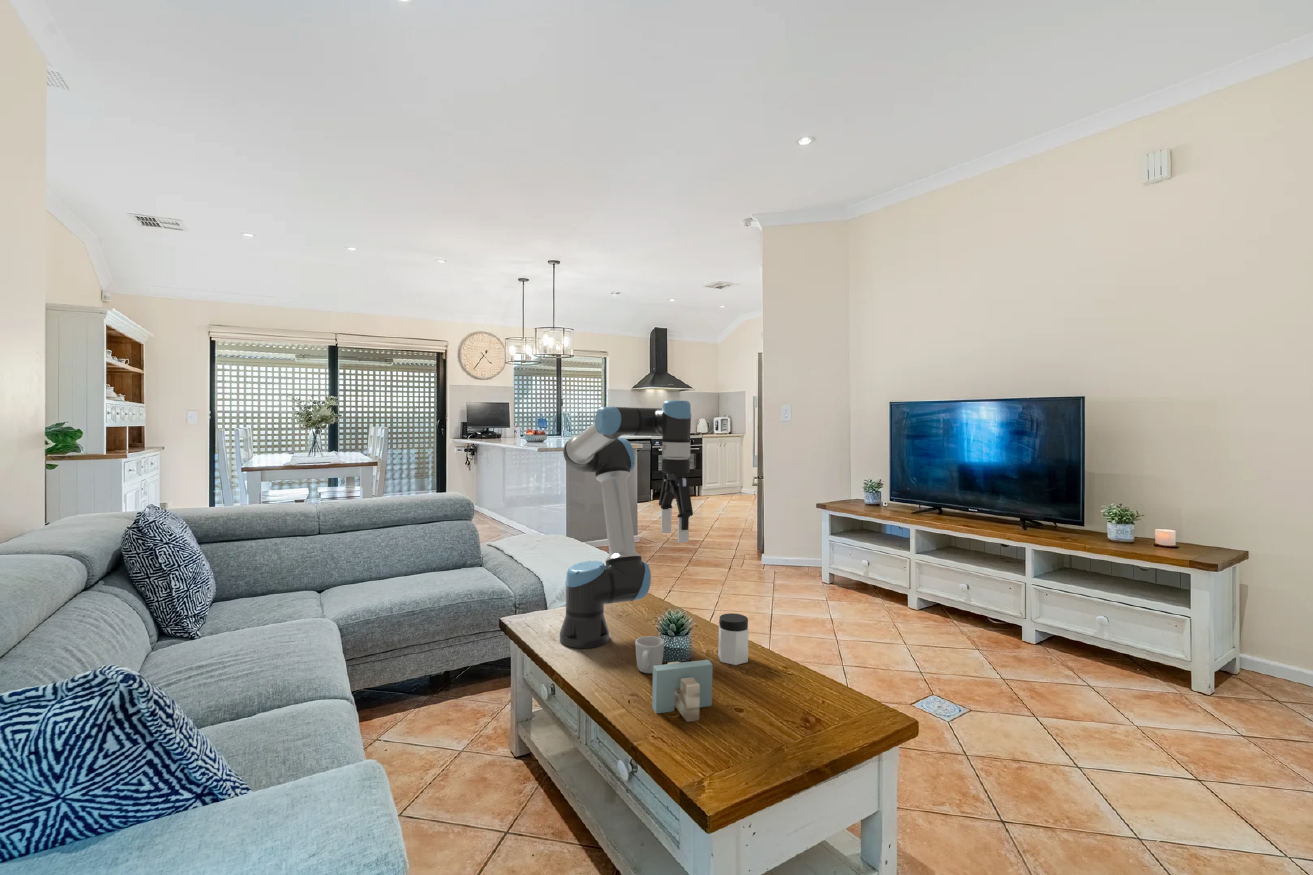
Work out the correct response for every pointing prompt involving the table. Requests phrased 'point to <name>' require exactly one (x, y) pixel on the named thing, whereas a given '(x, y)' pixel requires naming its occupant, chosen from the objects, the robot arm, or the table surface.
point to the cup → (649, 653)
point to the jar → (733, 639)
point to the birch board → (688, 698)
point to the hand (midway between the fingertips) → (674, 537)
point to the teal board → (670, 679)
